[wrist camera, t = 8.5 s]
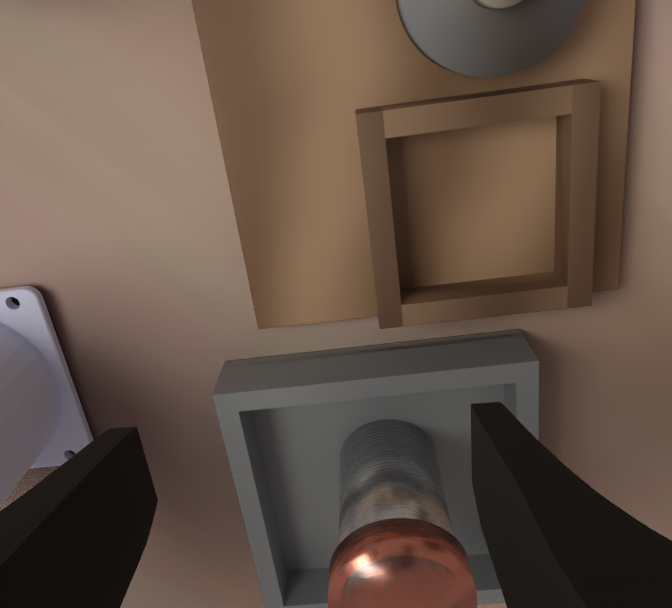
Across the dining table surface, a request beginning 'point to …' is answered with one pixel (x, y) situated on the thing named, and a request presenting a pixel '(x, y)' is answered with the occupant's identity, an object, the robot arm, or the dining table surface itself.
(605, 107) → the board
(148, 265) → the dining table surface
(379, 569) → the pin
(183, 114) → the dining table surface
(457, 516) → the tray
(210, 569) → the dining table surface
